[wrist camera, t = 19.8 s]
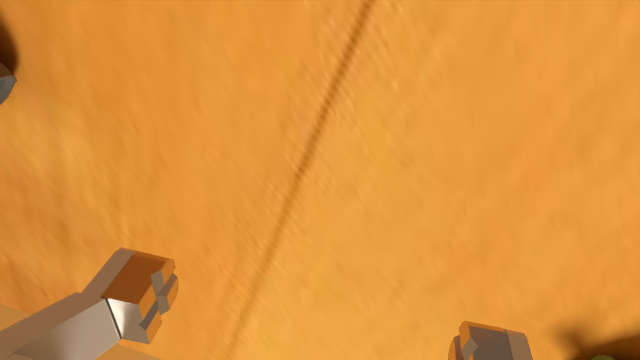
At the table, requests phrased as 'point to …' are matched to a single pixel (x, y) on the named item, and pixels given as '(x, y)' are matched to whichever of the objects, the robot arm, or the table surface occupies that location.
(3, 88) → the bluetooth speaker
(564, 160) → the table surface
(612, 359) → the teapot
